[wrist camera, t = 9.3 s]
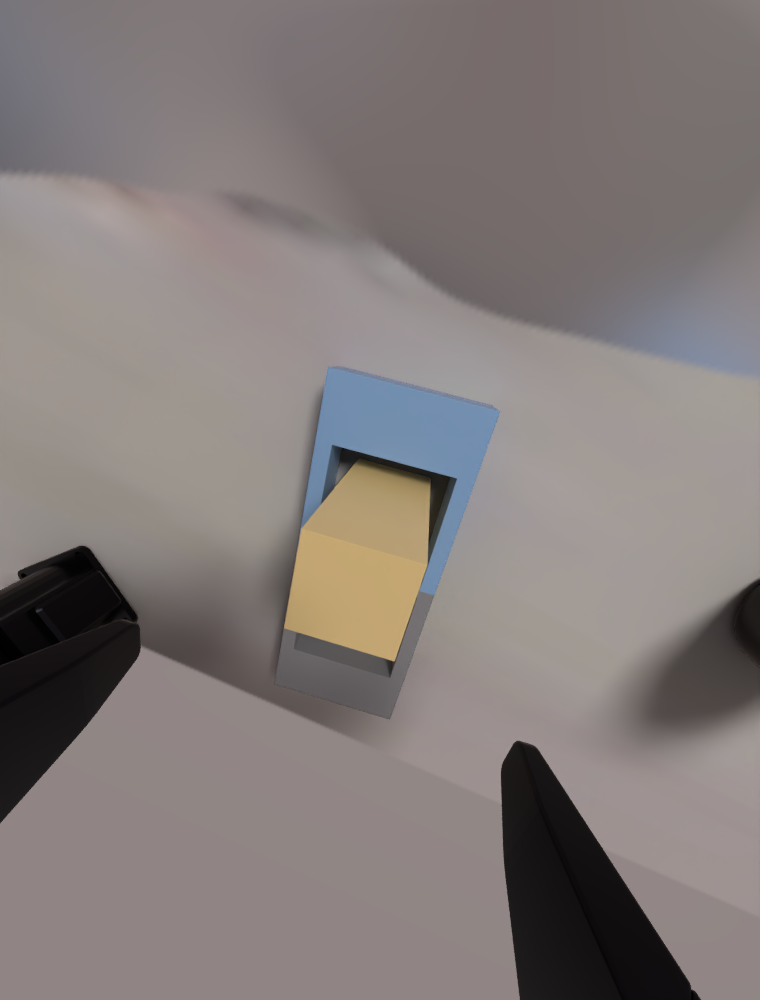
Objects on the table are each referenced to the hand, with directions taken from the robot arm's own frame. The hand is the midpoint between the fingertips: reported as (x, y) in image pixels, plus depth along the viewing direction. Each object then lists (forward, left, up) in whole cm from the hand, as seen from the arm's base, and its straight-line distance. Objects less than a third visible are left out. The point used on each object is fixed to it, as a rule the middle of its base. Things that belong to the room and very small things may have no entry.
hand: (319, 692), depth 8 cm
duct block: (-2, -3, -13) cm, 13 cm away
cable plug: (0, 0, -13) cm, 13 cm away
